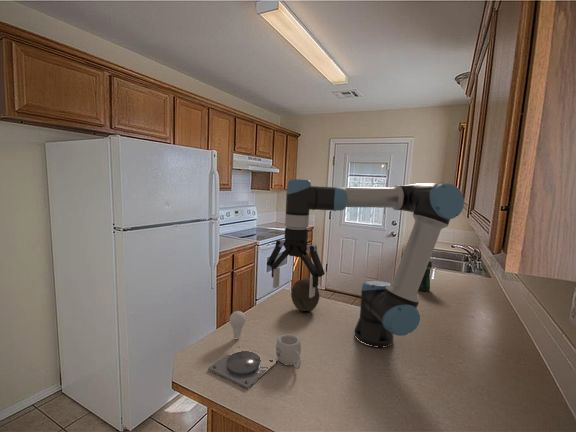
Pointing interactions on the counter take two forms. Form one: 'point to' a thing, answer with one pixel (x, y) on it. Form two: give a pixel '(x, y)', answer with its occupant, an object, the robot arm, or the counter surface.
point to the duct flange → (239, 368)
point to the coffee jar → (426, 279)
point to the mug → (289, 350)
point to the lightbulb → (237, 322)
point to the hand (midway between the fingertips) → (293, 291)
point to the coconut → (304, 296)
